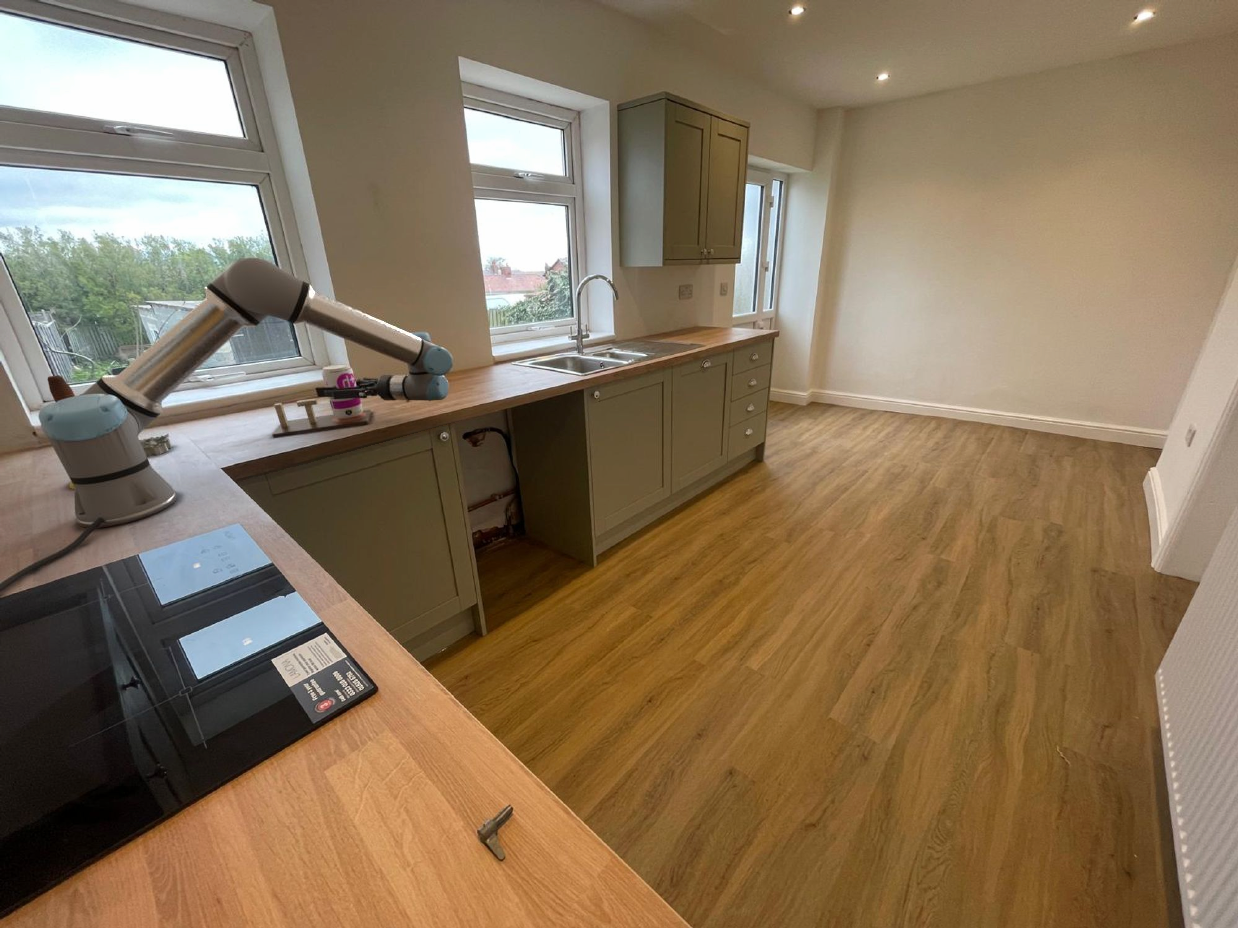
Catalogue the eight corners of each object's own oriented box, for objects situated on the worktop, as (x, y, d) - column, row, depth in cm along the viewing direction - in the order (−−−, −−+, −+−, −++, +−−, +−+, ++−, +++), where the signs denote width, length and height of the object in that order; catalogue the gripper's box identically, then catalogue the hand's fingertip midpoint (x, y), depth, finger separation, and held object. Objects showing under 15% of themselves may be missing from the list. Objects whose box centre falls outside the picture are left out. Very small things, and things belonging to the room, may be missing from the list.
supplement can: (369, 412, 156) (356, 364, 150) (343, 420, 149) (329, 370, 143) (354, 409, 160) (341, 362, 154) (328, 417, 154) (314, 368, 148)
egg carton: (116, 461, 131) (109, 447, 130) (129, 452, 138) (122, 438, 136) (165, 453, 135) (159, 439, 133) (176, 445, 141) (170, 431, 140)
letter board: (368, 423, 151) (361, 398, 148) (273, 437, 144) (264, 410, 141) (371, 412, 163) (365, 388, 159) (283, 424, 155) (275, 399, 152)
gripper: (377, 410, 140) (306, 410, 144) (417, 390, 159) (353, 390, 163) (371, 384, 137) (298, 385, 141) (412, 367, 156) (347, 368, 160)
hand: (327, 388), depth 152 cm, fingers closed on supplement can, 8 cm apart
